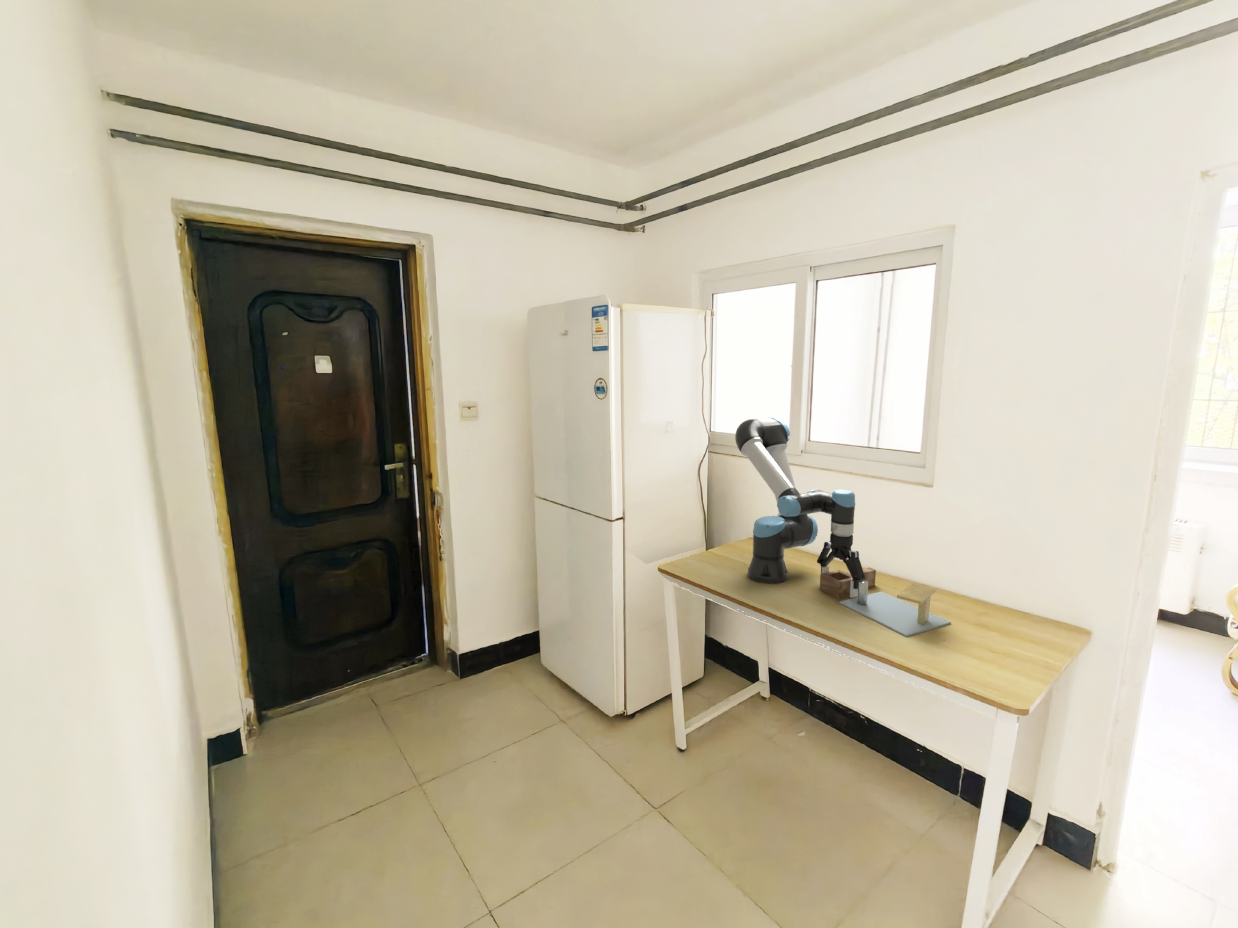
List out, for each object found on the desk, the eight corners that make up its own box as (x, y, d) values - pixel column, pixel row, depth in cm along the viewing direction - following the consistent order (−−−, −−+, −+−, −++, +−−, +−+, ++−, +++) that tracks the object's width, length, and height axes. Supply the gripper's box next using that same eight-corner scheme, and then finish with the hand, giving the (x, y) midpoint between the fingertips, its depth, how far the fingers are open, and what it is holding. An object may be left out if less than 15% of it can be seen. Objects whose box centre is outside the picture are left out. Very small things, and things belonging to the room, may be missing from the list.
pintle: (855, 604, 183) (856, 581, 181) (861, 602, 184) (863, 579, 182) (862, 607, 180) (863, 584, 178) (868, 606, 181) (870, 582, 180)
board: (839, 603, 184) (839, 601, 184) (881, 592, 192) (881, 591, 191) (906, 636, 160) (906, 634, 160) (950, 623, 168) (950, 621, 168)
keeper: (894, 624, 168) (897, 595, 166) (909, 611, 177) (911, 583, 175) (918, 631, 163) (921, 601, 161) (932, 618, 172) (935, 589, 170)
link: (838, 598, 187) (839, 582, 186) (819, 589, 196) (820, 573, 195) (881, 588, 196) (882, 572, 195) (861, 579, 204) (862, 564, 203)
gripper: (808, 526, 199) (806, 579, 203) (862, 544, 177) (858, 604, 180) (823, 523, 202) (821, 576, 206) (878, 541, 180) (874, 600, 183)
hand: (838, 589), depth 193 cm, fingers open, 13 cm apart
